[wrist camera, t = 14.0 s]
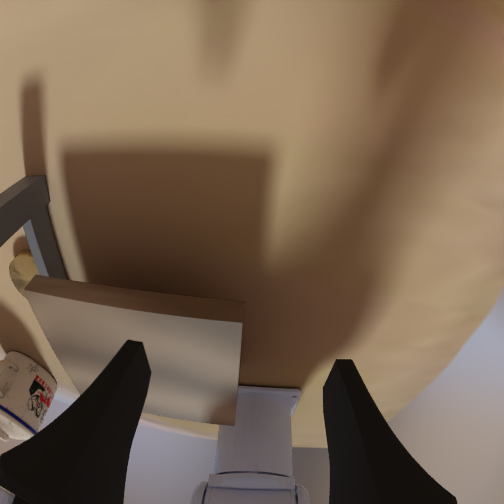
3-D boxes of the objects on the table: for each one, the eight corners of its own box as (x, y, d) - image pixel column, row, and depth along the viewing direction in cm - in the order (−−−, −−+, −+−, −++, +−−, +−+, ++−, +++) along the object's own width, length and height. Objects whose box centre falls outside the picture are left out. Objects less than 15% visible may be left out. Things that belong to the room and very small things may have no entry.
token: (68, 298, 23) (60, 310, 22) (29, 290, 23) (21, 301, 22) (51, 250, 21) (42, 261, 19) (11, 246, 21) (2, 255, 19)
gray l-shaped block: (83, 308, 23) (53, 362, 18) (65, 305, 24) (34, 356, 19) (44, 175, 17) (-13, 217, 12) (25, 176, 17) (-31, 217, 12)
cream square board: (240, 366, 26) (234, 426, 21) (96, 344, 26) (74, 394, 21) (249, 252, 19) (242, 323, 14) (59, 235, 19) (14, 287, 14)
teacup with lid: (66, 397, 35) (40, 464, 25) (18, 376, 34) (-10, 436, 24) (43, 349, 28) (3, 431, 19) (-9, 325, 27) (-51, 394, 18)
